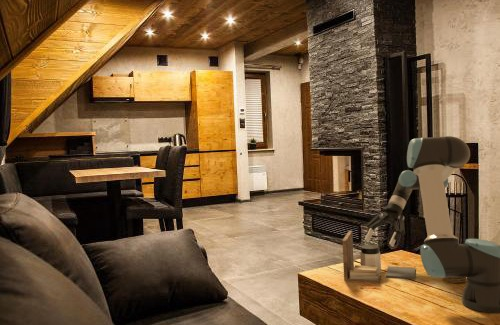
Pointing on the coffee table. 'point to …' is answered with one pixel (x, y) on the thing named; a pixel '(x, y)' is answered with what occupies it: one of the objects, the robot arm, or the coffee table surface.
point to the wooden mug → (455, 279)
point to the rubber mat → (400, 272)
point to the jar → (370, 256)
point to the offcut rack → (358, 271)
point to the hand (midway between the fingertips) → (378, 242)
